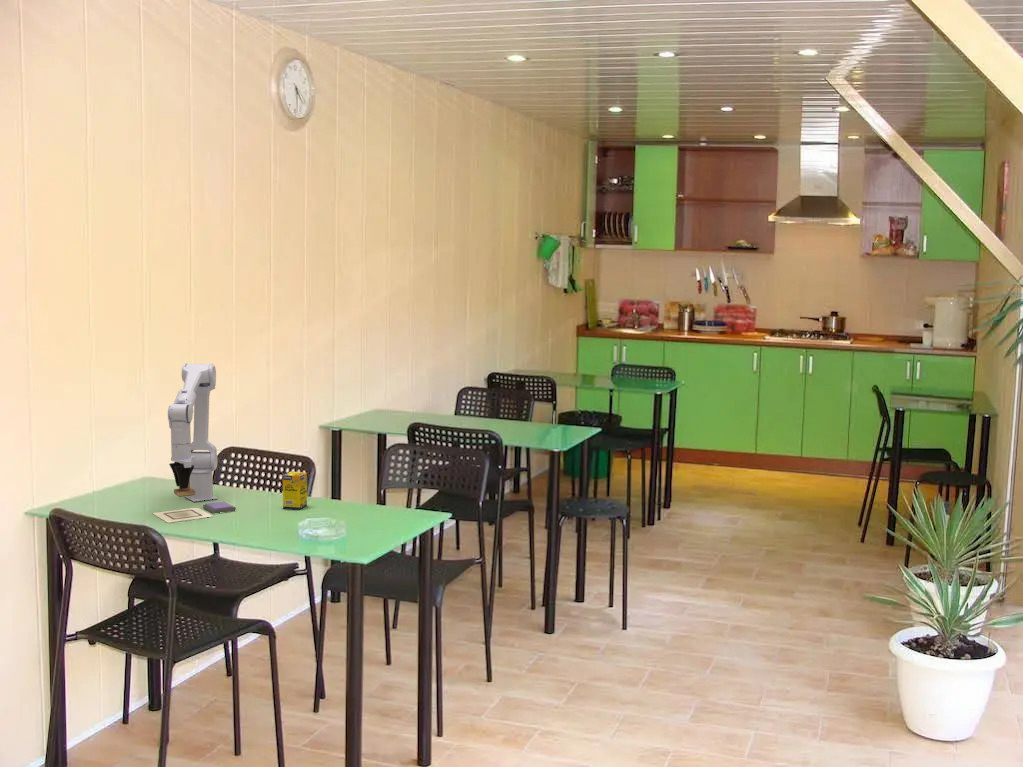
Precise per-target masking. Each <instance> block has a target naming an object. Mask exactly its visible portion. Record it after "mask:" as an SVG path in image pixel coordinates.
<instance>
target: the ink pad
mask: <svg viewBox="0 0 1023 767" xmlns="http://www.w3.org/2000/svg"><path fill="white" fill-rule="evenodd" d="M202 507H203V508H204V510H205V509H206V511H207V510H208V512H209V511H210V512H209V513H211V512H212V513H211V514H213V513H218V514H221V513H220V512H225V513H227V512H226V511H233V512H236V511H235V510H237V508H236V507H235V506H234V505H231V504H229V502H228V503H227V502H226V501H224V500H223V501H217V502H216V501H215V502H209V503H204V504H203V505H202Z"/></svg>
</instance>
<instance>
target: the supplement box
mask: <svg viewBox="0 0 1023 767" xmlns="http://www.w3.org/2000/svg"><path fill="white" fill-rule="evenodd" d="M305 507H308V473H307V472H305V471H304V472H302V471H289V472H287V473H285V474H282V509H283V510H294V511H295V510H297V511H301V510H302V509H303V508H305Z"/></svg>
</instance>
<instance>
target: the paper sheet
mask: <svg viewBox="0 0 1023 767" xmlns="http://www.w3.org/2000/svg"><path fill="white" fill-rule="evenodd" d="M152 515H154V516H156V517H157V518H159V519H160V520H162V521H163V522H165V523H168V524H172V523H179V522H186V520H187V521H192V520H193V519H194V520H200V519H199V518H202V519H208V518H207V517H209V518H213V517H214V515H212V514H210V513H209V512H207V511H204V510H203V509H201V508H198V507H191V508H189V507H188V508H183V509H182V508H181V509H174V510H168V511H160V512H152Z"/></svg>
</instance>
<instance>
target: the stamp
mask: <svg viewBox="0 0 1023 767" xmlns="http://www.w3.org/2000/svg"><path fill="white" fill-rule="evenodd" d="M173 493H174V495H176V496H177V497H179V498H181V497H184V496H192V495H195V490H194V489H192V488H190V479H189V484H188V488H184V489H180V486H178V488H174V489H173Z"/></svg>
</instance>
